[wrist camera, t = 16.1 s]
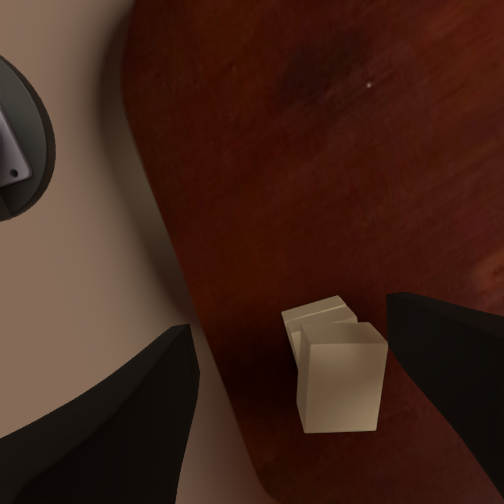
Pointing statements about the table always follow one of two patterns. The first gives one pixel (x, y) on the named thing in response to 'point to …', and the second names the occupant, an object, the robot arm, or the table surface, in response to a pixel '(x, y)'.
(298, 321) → the cream seamed block
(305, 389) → the cream rectangular block
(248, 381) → the table surface
